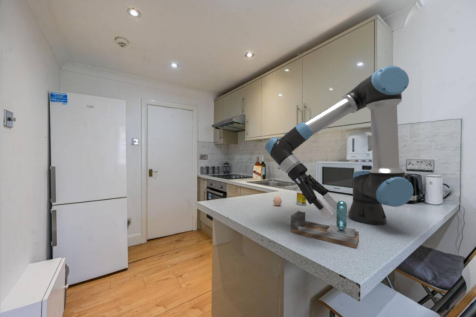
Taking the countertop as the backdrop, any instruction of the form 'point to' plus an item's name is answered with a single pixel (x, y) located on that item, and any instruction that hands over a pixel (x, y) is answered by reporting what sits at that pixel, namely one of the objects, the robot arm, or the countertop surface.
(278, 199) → the egg
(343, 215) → the sliding jaw
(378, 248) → the countertop surface
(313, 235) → the press base
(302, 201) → the supplement bottle
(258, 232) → the countertop surface
